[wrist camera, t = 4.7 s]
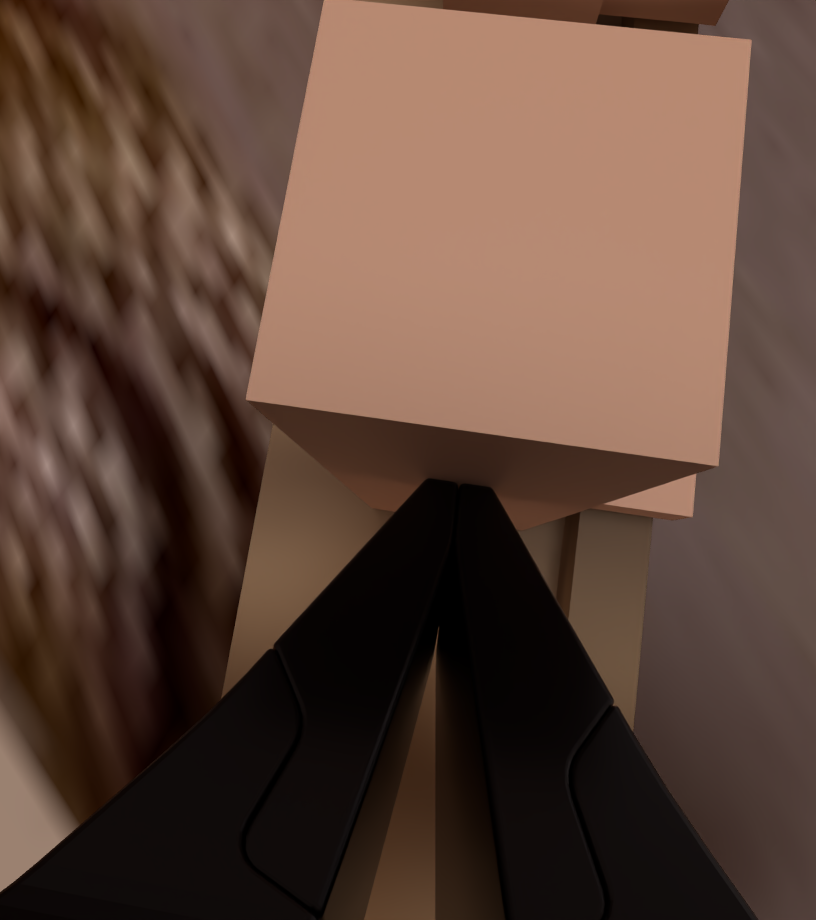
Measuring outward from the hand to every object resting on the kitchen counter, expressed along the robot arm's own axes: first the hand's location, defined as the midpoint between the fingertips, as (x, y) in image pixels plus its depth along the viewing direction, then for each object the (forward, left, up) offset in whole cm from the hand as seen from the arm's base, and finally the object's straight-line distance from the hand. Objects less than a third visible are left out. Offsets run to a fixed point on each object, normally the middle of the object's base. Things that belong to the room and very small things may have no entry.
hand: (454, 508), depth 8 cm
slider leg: (+2, 0, -6) cm, 7 cm away
